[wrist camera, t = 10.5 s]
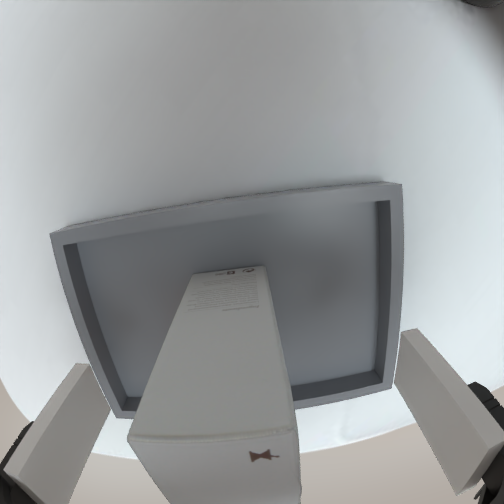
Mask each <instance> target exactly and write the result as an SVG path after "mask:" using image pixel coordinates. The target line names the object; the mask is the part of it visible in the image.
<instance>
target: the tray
mask: <svg viewBox="0 0 504 504" xmlns="http://www.w3.org/2000/svg"><path fill="white" fill-rule="evenodd" d="M50 238H51V243H52V247H53V251H54V255H55V259H56V263H57V267H58V271H59V274H60V278H61V282H62V285H63V288H64V292H65V295H66V298H67V301H68V304H69V307H70V311H71V313H72V316H73V319H74V322H75V325H76V328H77V331H78V333H79V336H80V339H81V341H82V344H83V346H84V349H85V351H86V354H87V356H88V359H89V361H90V364H91V366H92V368H93V371H94V373H95V375H96V377H97V380H98V382H99V384H100V386H101V388H102V390H103V392H104V395H105V397H106V399H107V401H108V403H109V405H110V407H111V409H112V411H113V413H114V415H115V417H116V418H124V419H134V417H135V414H136V412H137V409H138V406H139V404H140V401H141V398H142V396H143V393H144V390H145V388H146V385H147V383H148V380H149V378H150V375H151V373H152V370H153V368H154V365H155V363H156V360H157V358H158V355H159V353H160V350H161V348H162V345H163V343H164V341H165V338H166V336H167V333H168V331H169V328H170V326H171V324H172V321H173V319H174V316H175V314H176V312H177V310H178V307H179V305H180V303H181V300H182V298H183V296H184V293H185V291H186V289H187V286H188V284H189V282H190V280H191V277H192V275H193V274H197V273H206V272H214V271H223V270H231V269H239V268H247V267H254V266H262V265H264V266H265V268H266V272H267V277H268V282H269V287H270V291H271V296H272V302H273V307H274V312H275V316H276V321H277V326H278V330H279V336H280V340H281V345H282V350H283V355H284V360H285V365H286V369H287V373H288V378H289V382H290V386H291V392H292V398H293V403H294V409H301V408H307V407H313V406H319V405H324V404H329V403H334V402H339V401H343V400H348V399H352V398H357V397H361V396H365V395H369V394H373V393H377V392H380V391H384V390H388V389H391V388H392V383H393V377H394V370H395V363H396V356H397V348H398V339H399V329H400V318H401V306H402V290H403V264H404V221H403V195H402V184H397V183H390V182H374V183H361V184H349V185H338V186H327V187H317V188H307V189H298V190H288V191H280V192H271V193H263V194H255V195H247V196H240V197H232V198H225V199H218V200H211V201H205V202H198V203H192V204H185V205H179V206H173V207H167V208H161V209H155V210H149V211H144V212H138V213H132V214H127V215H122V216H116V217H111V218H106V219H101V220H96V221H91V222H86V223H82V224H77V225H72V226H68V227H65V228H63V229H60V230H58V231H55V232H53V233H50Z"/></svg>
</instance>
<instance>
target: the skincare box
mask: <svg viewBox="0 0 504 504" xmlns="http://www.w3.org/2000/svg"><path fill="white" fill-rule="evenodd" d="M127 442H128V443H129V445H130V446H131V448H132V449H133V451H134V452H135V454H136V455H137V457H138V459H139V460H140V462H141V463H142V465H143V466H144V468H145V469H146V471H147V472H148V474H149V475H150V477H152V479H153V481H154V482H155V484H156V485H157V486H158V488H159V489H160V491H161V492H162V493H163V494H164V496H165V497H166V499H167V500H168V501H169V503H170V504H301V502H300V498H301V492H302V487H301V479H300V454H299V438H298V428H297V421H296V415H295V409H294V403H293V398H292V392H291V386H290V382H289V378H288V373H287V369H286V365H285V360H284V355H283V350H282V345H281V340H280V336H279V330H278V326H277V321H276V316H275V312H274V307H273V302H272V296H271V291H270V287H269V282H268V277H267V272H266V268H265V266H264V265H262V266H254V267H247V268H239V269H231V270H223V271H214V272H206V273H197V274H193V275H192V277H191V280H190V282H189V284H188V286H187V289H186V291H185V293H184V296H183V298H182V300H181V303H180V305H179V307H178V310H177V312H176V314H175V316H174V319H173V321H172V324H171V326H170V328H169V331H168V333H167V336H166V338H165V341H164V343H163V345H162V348H161V350H160V353H159V355H158V358H157V360H156V363H155V365H154V368H153V370H152V373H151V375H150V378H149V380H148V383H147V385H146V388H145V390H144V393H143V396H142V398H141V401H140V404H139V406H138V409H137V412H136V414H135V417H134V420H133V423H132V425H131V428H130V430H129V433H128V436H127Z"/></svg>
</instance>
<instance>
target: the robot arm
mask: <svg viewBox="0 0 504 504" xmlns="http://www.w3.org/2000/svg"><path fill="white" fill-rule="evenodd" d="M463 1H465V2H467V3H470V4H473V5H476V6H480V7H493V6H495V5H497V4H499V3H502V2H504V0H463ZM394 384H395V385H396V387H397V389H398V390H399V392H400V394H401V396H402V397H403V399H404V401H405V402H406V404H407V406H408V408H409V409H410V411H411V413H412V415H413V416H414V418H415V420H416V422H417V423H418V425H419V427H420V429H421V430H422V432H423V434H424V436H425V438H426V439H427V441H428V443H429V445H430V447H431V448H432V450H433V452H434V454H435V456H436V458H437V460H438V461H439V463H440V465H441V467H442V469H443V471H444V473H445V475H446V477H447V479H448V481H449V482H450V484H451V486H452V488H453V490H454V492H455V494H456V496H458V495H460V494H462V493H464V492H466V491H468V490H470V489H472V488H474V487H475V486H476V485H477V483H478V482H479V480H480V479H481V478H482V479H483V481H484V483H485V484H484V485H483V486H482V488H481V489H480V490H479V491H478V493H477V494H476V495H475V497H474V499H477V498H478V497H479V496H480V498H479V502H478V504H504V408H503V407H502V406H500V403H499V402H498V401H497V399H494V396H493V395H492V394H491V393H490V391H489V390H488V389H487V388H486V387H484V386H482V385H480V384H479V383H477V382H473V383H471V384H469V385H467V384H466V383H465V382H464V381H463V380H462V378H461V377H460V376H459V375H458V374H457V373H456V371H455V370H454V369H453V368H452V367H451V366H450V364H449V363H448V362H447V361H446V360H445V359H444V358H443V356H442V355H441V354H440V353H439V352H438V351H437V350H436V348H435V347H434V346H433V345H432V344H431V343H430V342H429V341H428V340H427V338H426V337H425V336H424V335H423V334H422V333H421V332H420V331H419V330H418V329H417V328H415V329H411V330H407V331H403V332H401V338H400V346H399V354H398V361H397V367H396V374H395V380H394ZM110 410H111V409H110V407H109V405H108V403H107V401H106V399H105V397H104V395H103V393H102V391H101V389H100V386H99V384H98V382H97V380H96V378H95V376H94V374H93V371H92V369H91V367H90V364H78V363H76V364H75V365H74V367H73V368H72V369H71V371H70V372H69V373H68V375H67V376H66V377H65V379H64V380H63V381H62V383H61V384H60V386H59V387H58V388H57V390H56V391H55V393H54V394H53V395H52V397H51V398H50V400H49V401H48V402H47V404H46V405H45V407H44V408H43V410H42V411H41V412H40V414H39V415H38V417H37V418H36V420H35V421H34V422H33V421H32V422H31V423H30V424H28V425H27V426H26V427H25V428H24V429H23V430H22V431H21V433H20V434H19V436H18V439H16V441H15V442H14V445H12V446H11V448H10V449H9V451H8V453H7V454H6V456H5V457H4V459H3V461H2V462H1V464H0V504H68V503H69V501H70V498H71V496H72V494H73V491H74V489H75V487H76V484H77V482H78V480H79V477H80V475H81V473H82V470H83V468H84V466H85V463H86V462H87V459H88V457H89V455H90V453H91V451H92V448H93V446H94V444H95V442H96V440H97V438H98V435H99V433H100V431H101V429H102V427H103V425H104V423H105V421H106V419H107V417H108V415H109V412H110Z"/></svg>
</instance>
